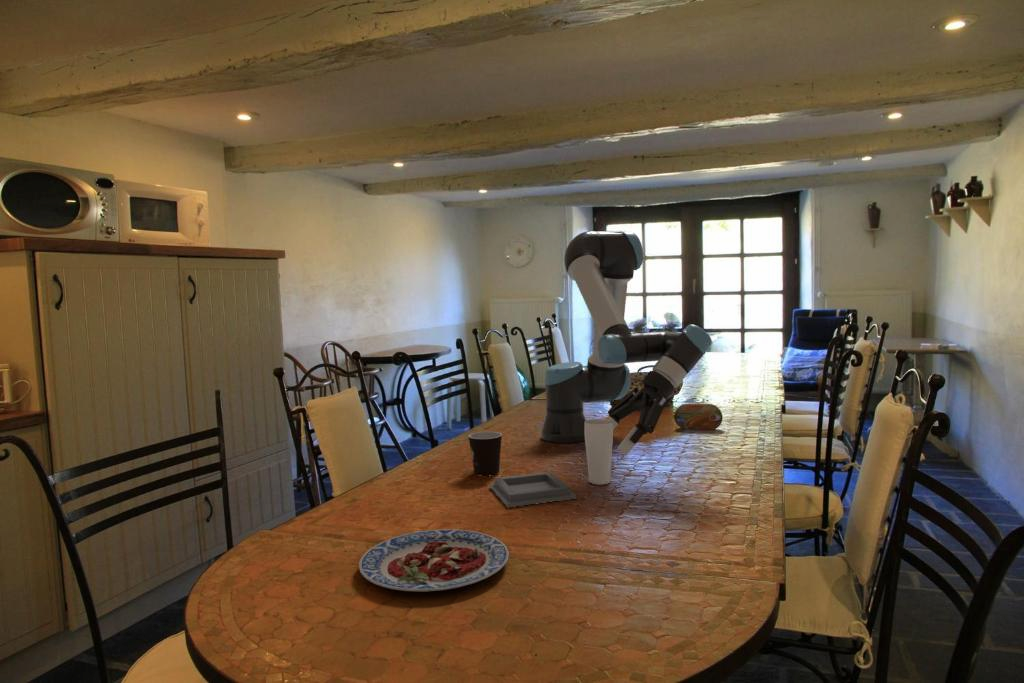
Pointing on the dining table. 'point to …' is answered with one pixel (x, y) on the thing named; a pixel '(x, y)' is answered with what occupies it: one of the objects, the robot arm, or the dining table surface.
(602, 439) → the drinking glass
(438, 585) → the ceramic plate
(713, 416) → the tin
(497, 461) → the coffee mug
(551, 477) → the plastic holder
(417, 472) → the dining table surface
